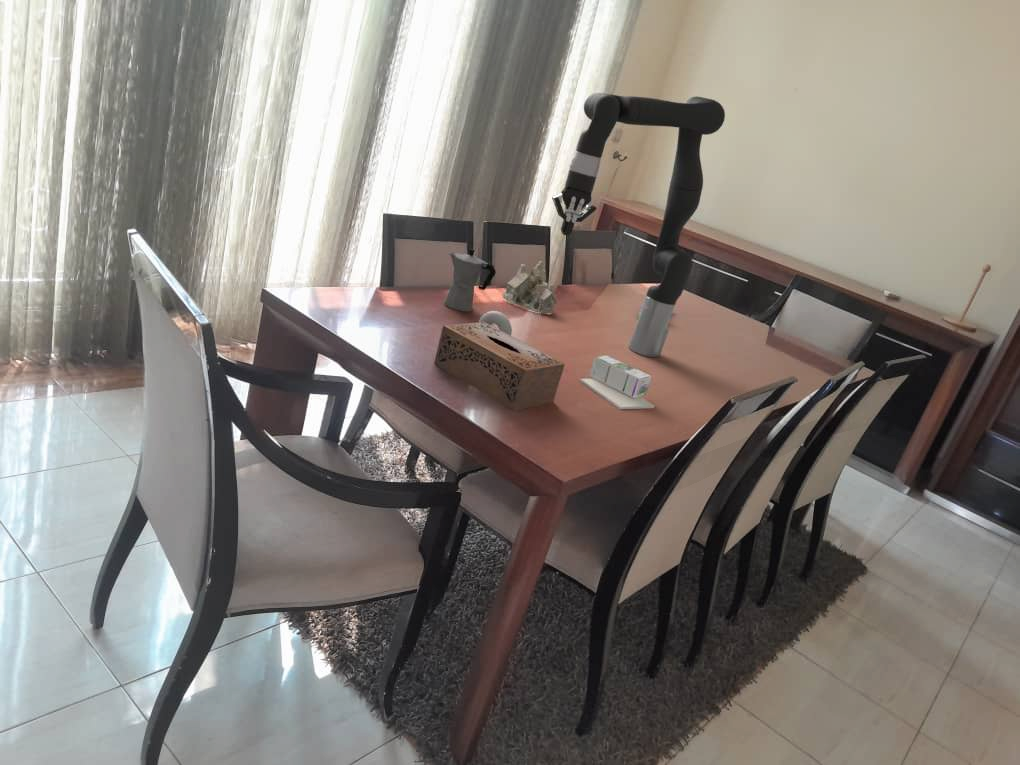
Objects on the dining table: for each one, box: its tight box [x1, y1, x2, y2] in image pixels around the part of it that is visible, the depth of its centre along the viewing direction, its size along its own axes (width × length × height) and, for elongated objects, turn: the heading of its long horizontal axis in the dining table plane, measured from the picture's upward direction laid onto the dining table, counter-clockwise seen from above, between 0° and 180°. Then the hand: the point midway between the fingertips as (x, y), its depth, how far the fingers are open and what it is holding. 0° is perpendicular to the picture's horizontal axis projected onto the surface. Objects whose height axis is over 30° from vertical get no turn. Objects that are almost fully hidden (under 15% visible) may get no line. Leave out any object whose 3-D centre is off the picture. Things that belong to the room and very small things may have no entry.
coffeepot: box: [443, 248, 497, 312], centre depth 222 cm, size 15×9×18 cm, turn 70°
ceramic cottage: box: [501, 260, 557, 313], centre depth 245 cm, size 16×16×15 cm
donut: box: [478, 310, 513, 336], centre depth 195 cm, size 10×4×10 cm, turn 60°
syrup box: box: [589, 354, 652, 398], centre depth 191 cm, size 6×6×14 cm
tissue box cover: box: [433, 321, 566, 412], centre depth 172 cm, size 26×14×10 cm, turn 50°
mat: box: [579, 378, 655, 410], centre depth 189 cm, size 16×12×1 cm
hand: (565, 234), depth 204 cm, fingers closed
